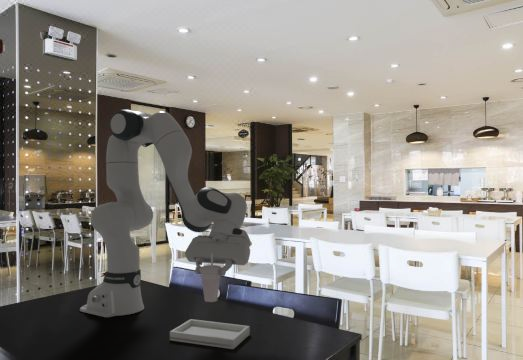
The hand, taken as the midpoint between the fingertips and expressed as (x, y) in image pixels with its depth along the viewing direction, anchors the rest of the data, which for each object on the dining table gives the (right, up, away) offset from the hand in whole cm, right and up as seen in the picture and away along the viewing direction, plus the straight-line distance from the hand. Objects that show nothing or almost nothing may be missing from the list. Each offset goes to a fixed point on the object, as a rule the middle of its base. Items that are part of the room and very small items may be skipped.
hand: (209, 273), depth 122 cm
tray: (0, -19, 0) cm, 19 cm away
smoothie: (0, -8, +1) cm, 8 cm away
